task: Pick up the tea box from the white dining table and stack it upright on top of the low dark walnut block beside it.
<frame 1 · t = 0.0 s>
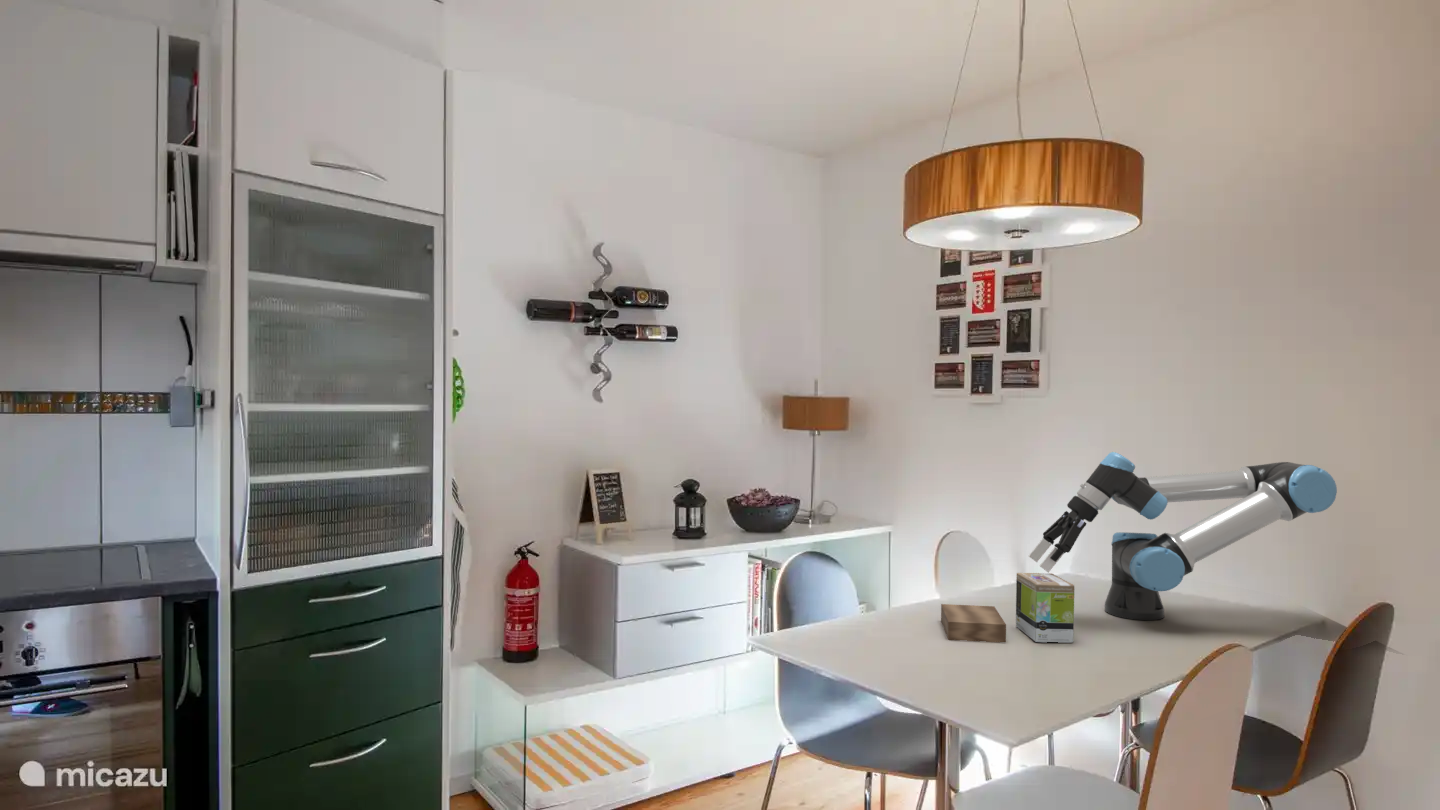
hand: (1037, 564, 228), 16 cm above the table, tool tilted 35°, fingers open, 13 cm apart
walnut block: (971, 632, 219), on the table
tea box: (1043, 635, 216), on the table, touching gripper
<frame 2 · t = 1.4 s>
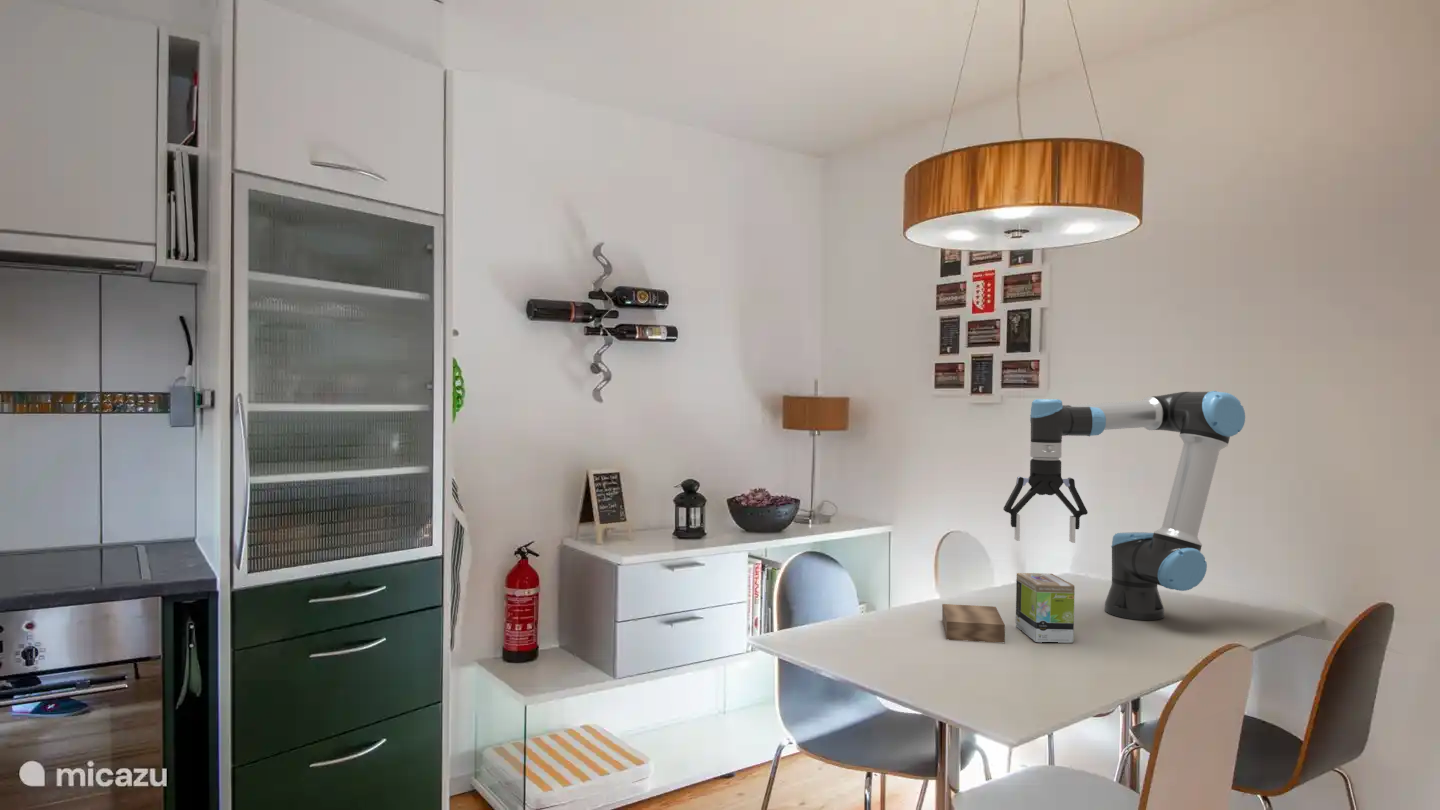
hand: (1044, 541, 215), 24 cm above the table, tool pointing down, fingers open, 13 cm apart
tea box: (1043, 635, 216), on the table
everything else where it was.
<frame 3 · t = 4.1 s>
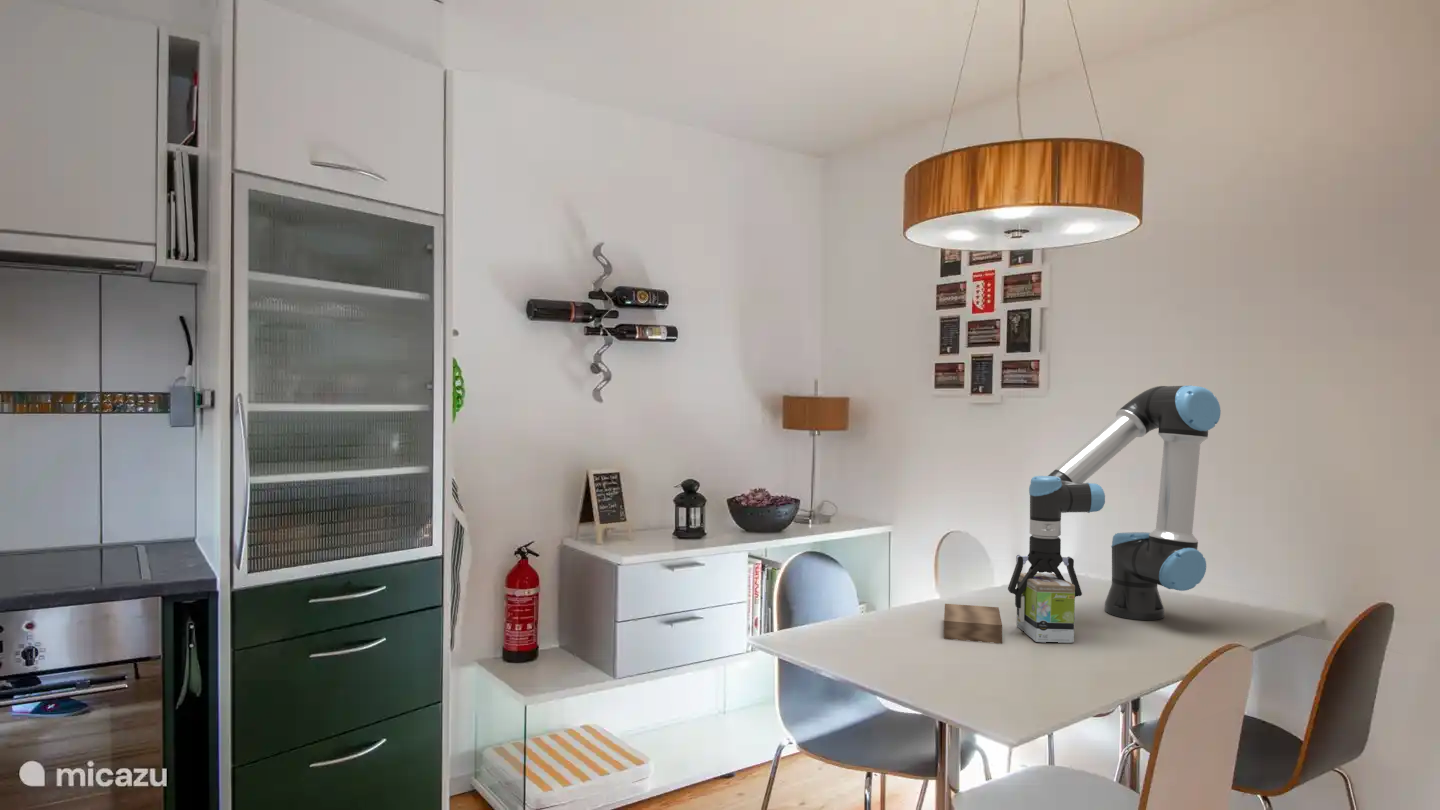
hand: (1044, 621, 216), 3 cm above the table, tool pointing down, fingers closed on tea box, 10 cm apart
tea box: (1044, 635, 215), on the table, touching gripper
everything else where it was.
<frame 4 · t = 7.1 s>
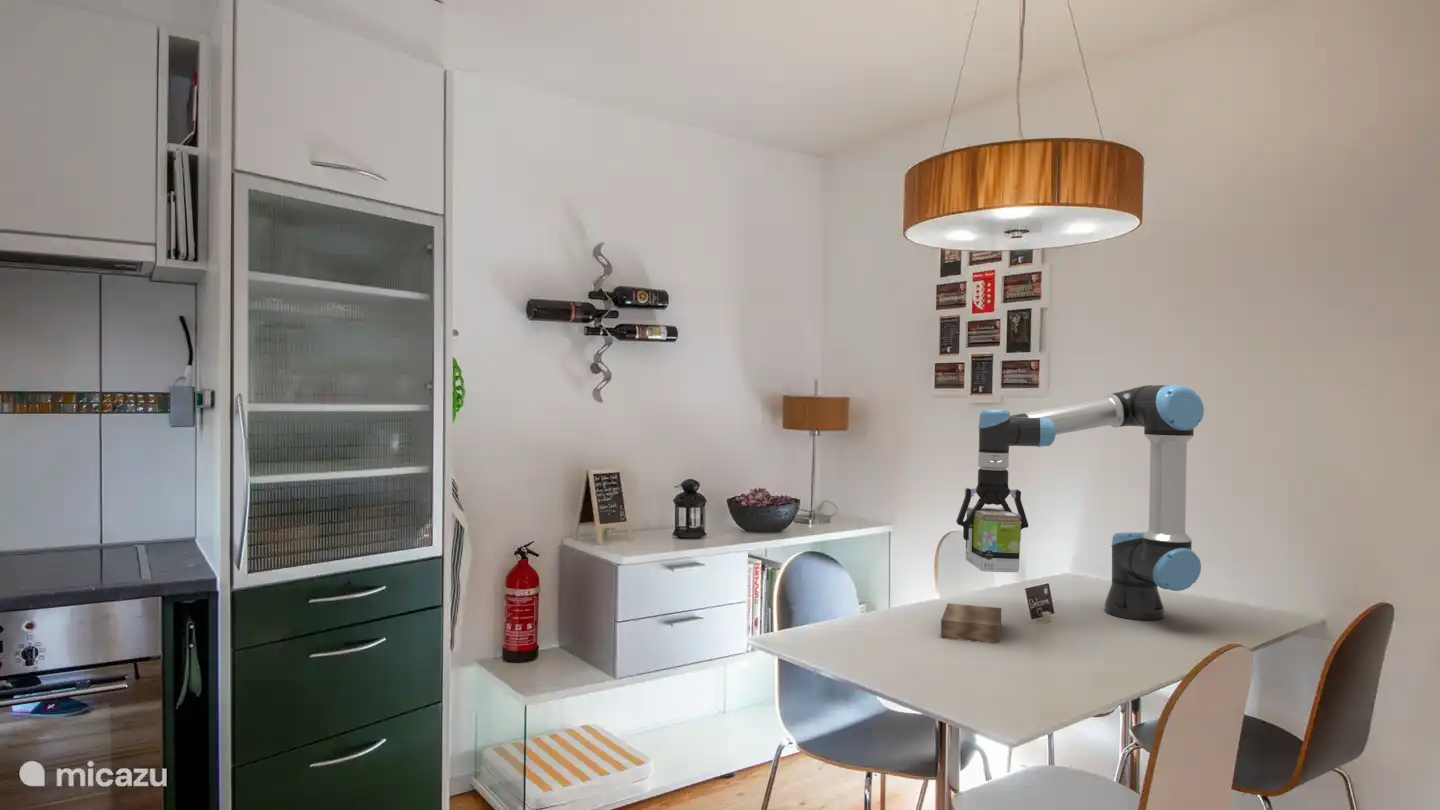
hand: (991, 553, 217), 21 cm above the table, tool pointing down, fingers closed on tea box, 10 cm apart
tea box: (991, 567, 217), point 17 cm above the table, touching gripper
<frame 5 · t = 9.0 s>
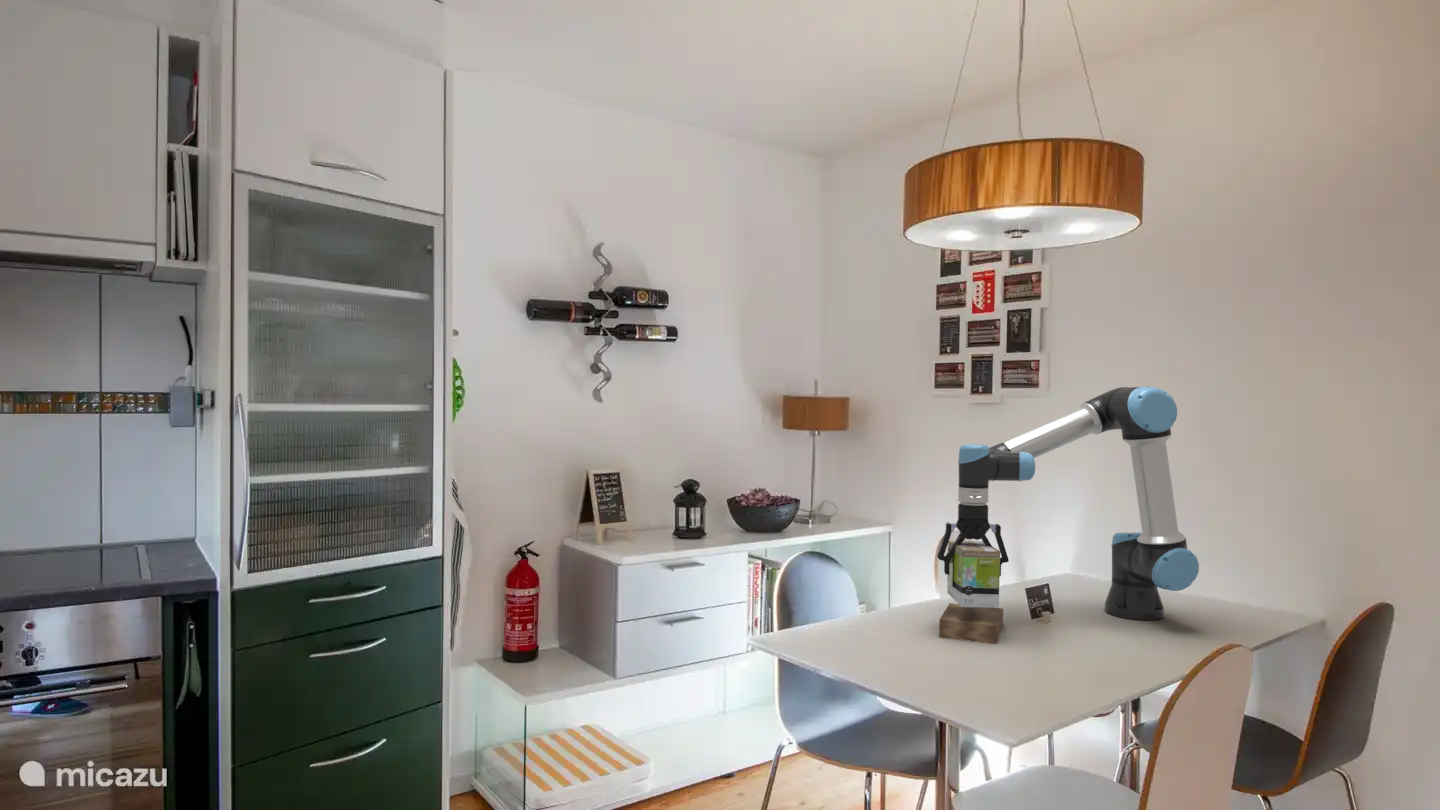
hand: (972, 587, 218), 11 cm above the table, tool pointing down, fingers closed on tea box, 10 cm apart
tea box: (972, 601, 218), point 8 cm above the table, touching gripper
when the fingers open (10 cm above the table, at t = 10.3 s): tea box drops 2 cm, resting on walnut block.
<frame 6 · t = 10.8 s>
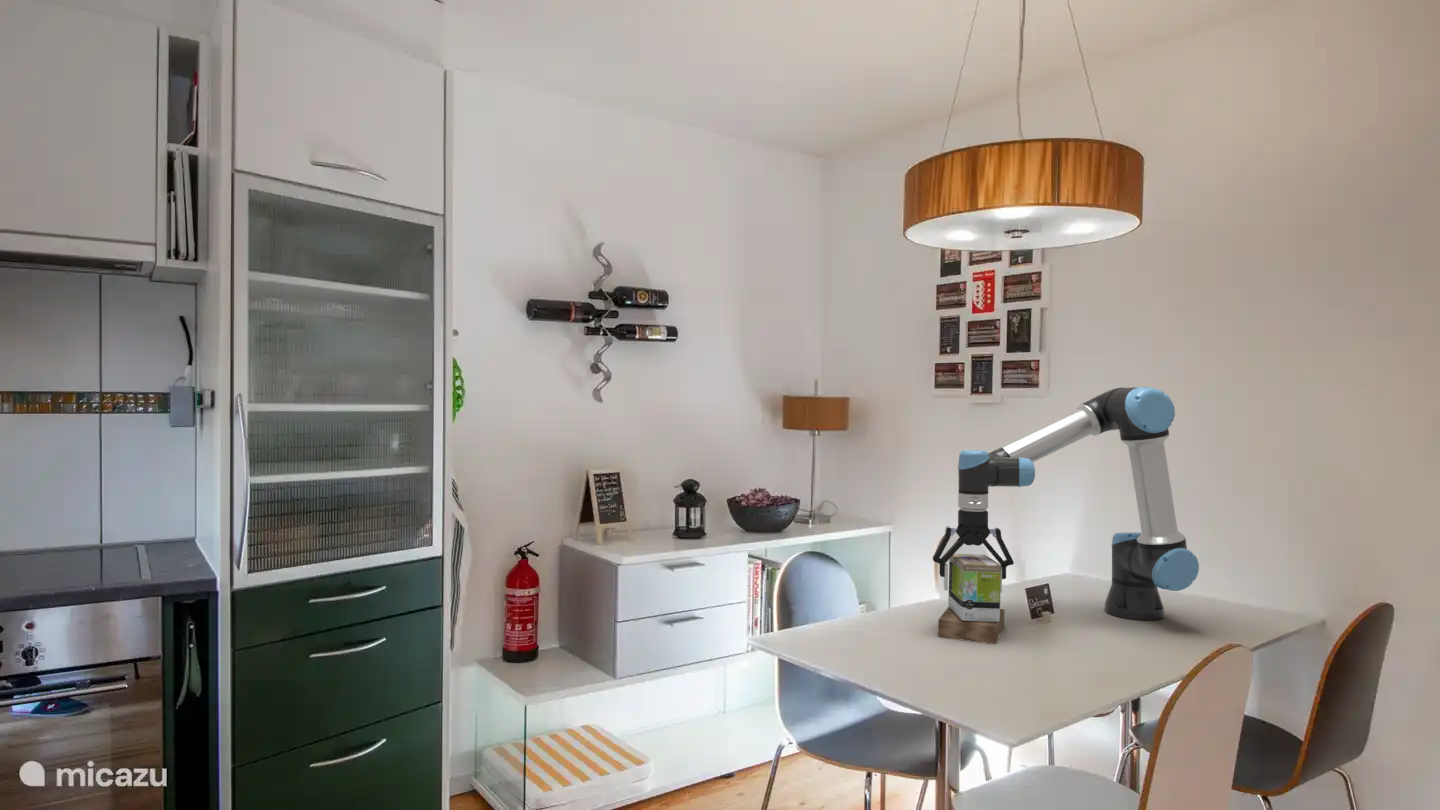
hand: (972, 590, 218), 11 cm above the table, tool pointing down, fingers open, 13 cm apart
walnut block: (972, 633, 219), on the table, touching tea box
tea box: (973, 615, 218), point 4 cm above the table, touching walnut block
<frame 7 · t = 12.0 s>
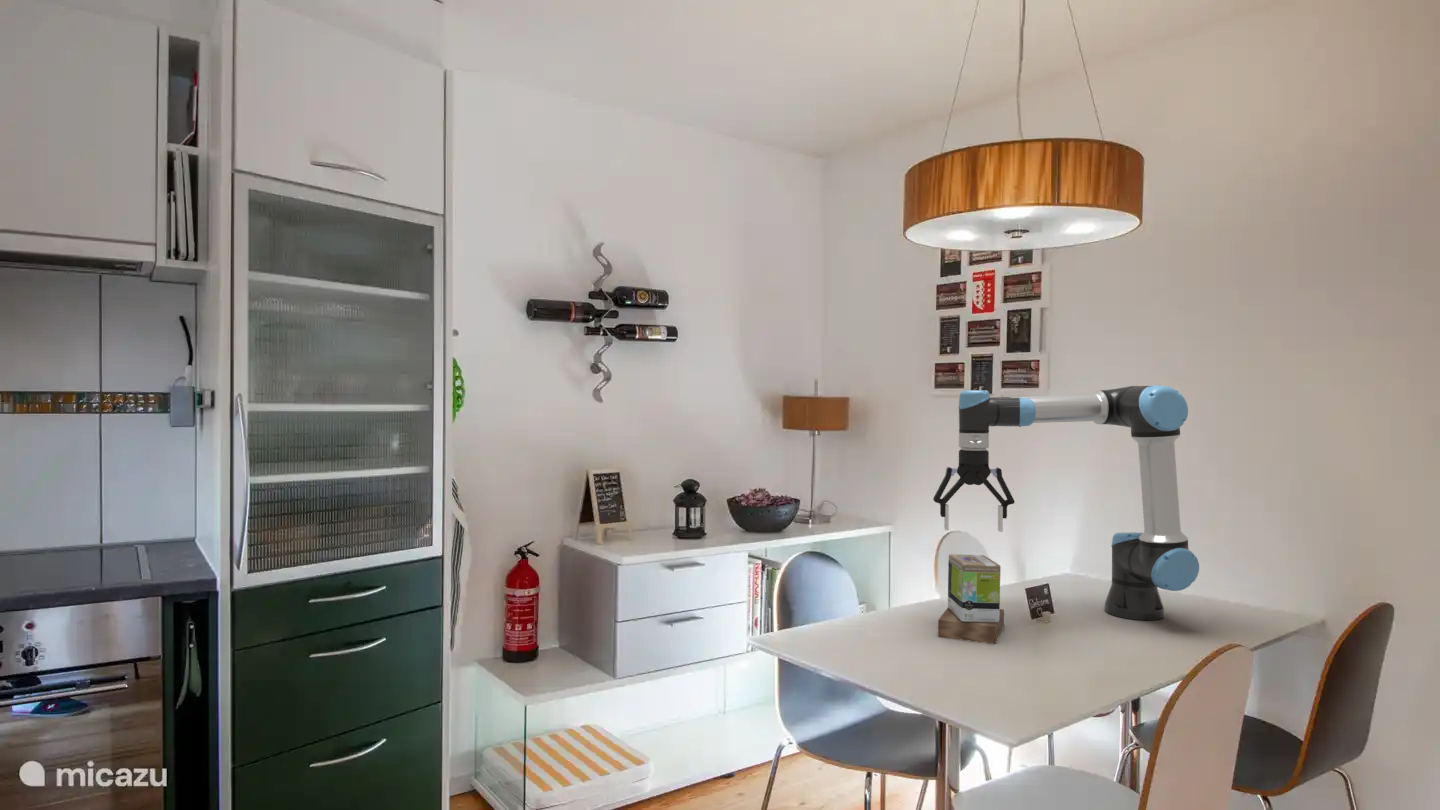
hand: (973, 530, 218), 26 cm above the table, tool pointing down, fingers open, 13 cm apart
nothing on the table moved.
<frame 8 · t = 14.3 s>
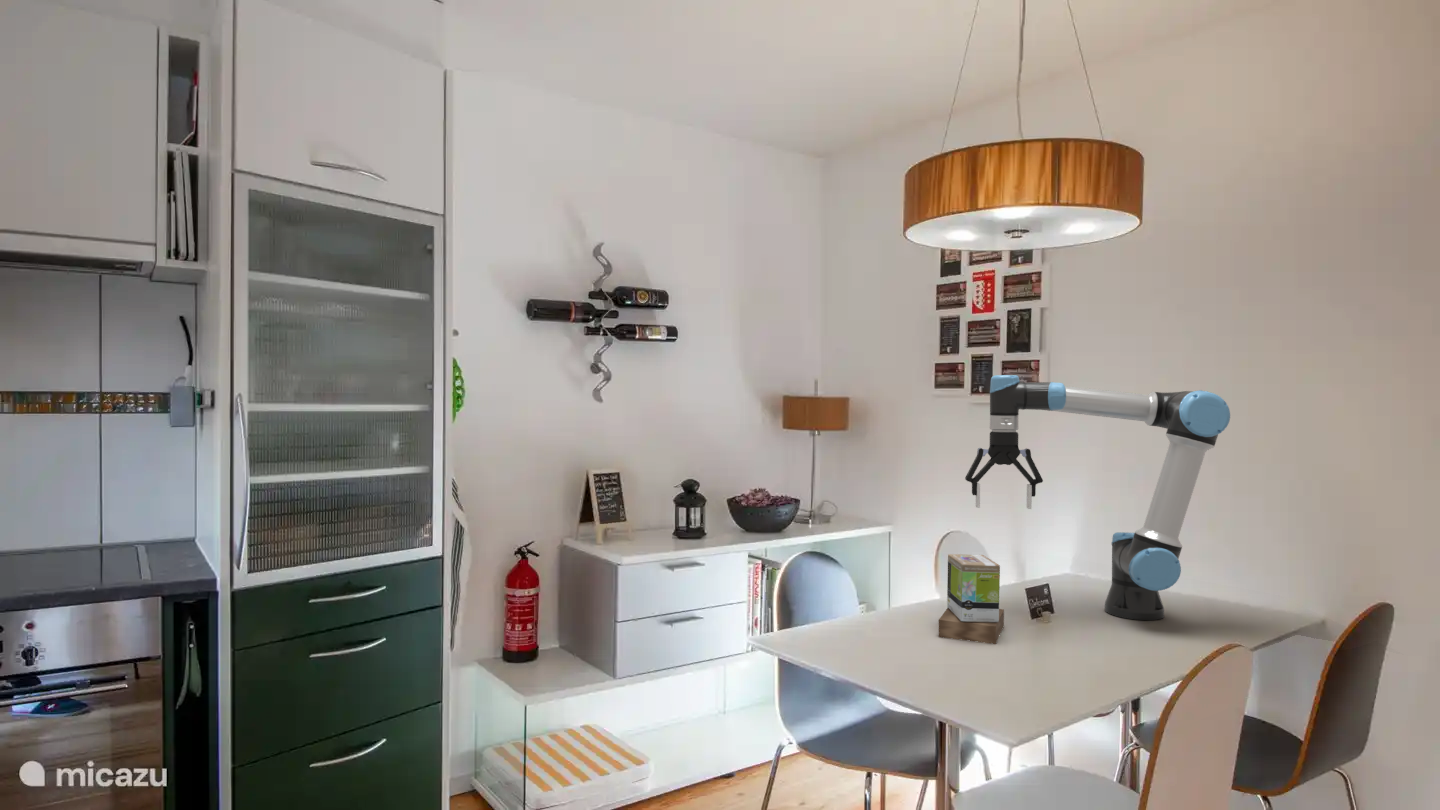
hand: (1003, 507, 230), 31 cm above the table, tool pointing down, fingers open, 13 cm apart
nothing on the table moved.
at the end: tea box 0.6 cm off-centre on the walnut block, point 4.8 cm above the walnut block's base; tea box touching walnut block; tea box tilted 0° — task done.
